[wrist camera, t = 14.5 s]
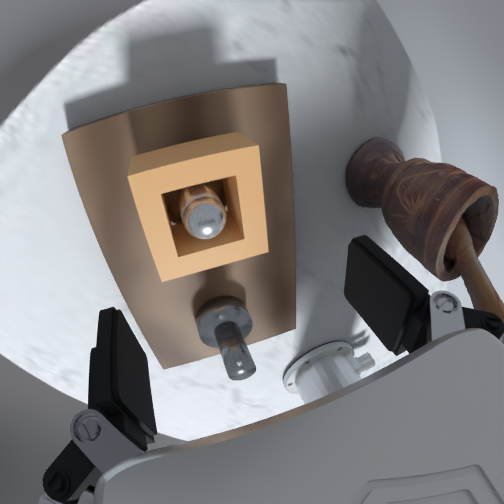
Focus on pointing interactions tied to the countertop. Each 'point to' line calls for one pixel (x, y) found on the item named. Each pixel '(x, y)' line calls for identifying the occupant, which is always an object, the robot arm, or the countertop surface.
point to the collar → (192, 173)
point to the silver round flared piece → (199, 208)
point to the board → (133, 237)
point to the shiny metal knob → (227, 333)
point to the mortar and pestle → (431, 213)
